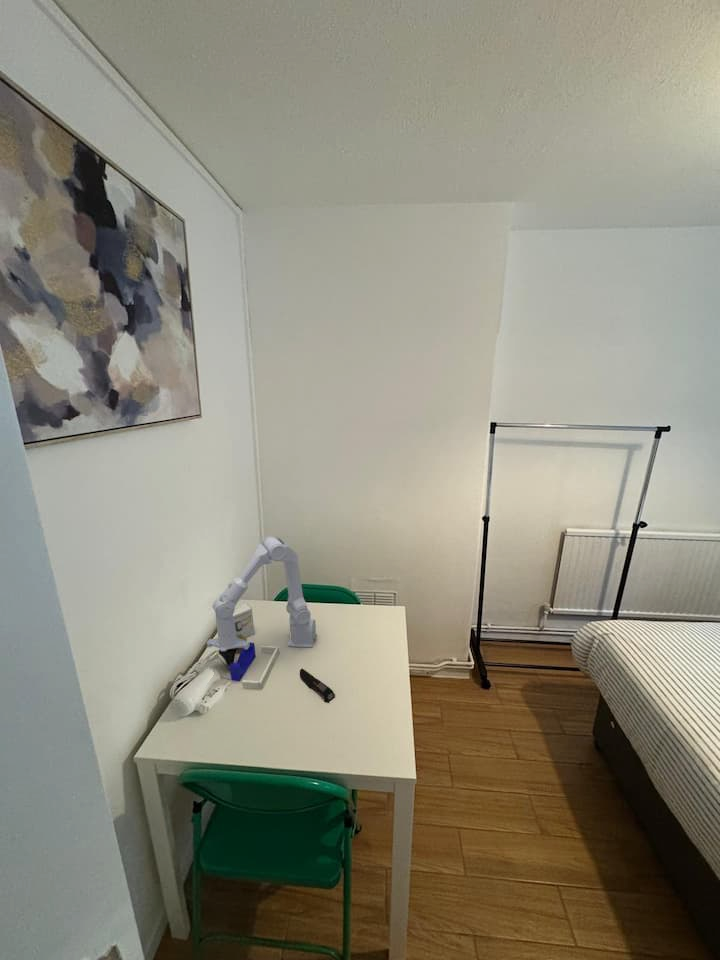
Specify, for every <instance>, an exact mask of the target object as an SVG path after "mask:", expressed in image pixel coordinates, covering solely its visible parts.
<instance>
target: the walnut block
mask: <svg viewBox="0 0 720 960" xmlns="http://www.w3.org/2000/svg"><path fill="white" fill-rule="evenodd" d="M238 638H239V639H242V640H245V641H248V639H247V637H238ZM243 649H245V648H237V650H236V653H235V655H237V654H238V655H240V653H241V652H242V650H243Z"/></svg>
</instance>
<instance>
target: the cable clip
mask: <svg viewBox="0 0 720 960" xmlns="http://www.w3.org/2000/svg"><path fill="white" fill-rule="evenodd" d="M249 644H250V646H249V648H248V650H245V649H243V650H242V652H241V653H239V655H238V658H237V659H238V660H237V661H236V662H234V663H231V664H230V667H229V671H230V672H229V673H230V678H231V681H232V682H241V680H242V679H243V678H244V675H245V674H246V673H247V671H248V669H249V668H250V666H251V665H252V663H253V661H254V660H255V659H256V656H257V655H256V648H255V647H256V645H255V642H250V641H249Z"/></svg>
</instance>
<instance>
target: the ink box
mask: <svg viewBox="0 0 720 960" xmlns="http://www.w3.org/2000/svg"><path fill="white" fill-rule="evenodd" d="M233 617H234V623H235V631H236V638H238V637H246V638H248V637H250V636H252V635H254V634H255V632H256V631H255V626H254V617H253V608H252V607H251V605H250V604H249V603H243V604H242V605H239V606H235V611H234V613H233Z"/></svg>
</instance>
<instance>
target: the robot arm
mask: <svg viewBox="0 0 720 960" xmlns="http://www.w3.org/2000/svg"><path fill="white" fill-rule="evenodd" d="M253 554H254V555H253V556H252V557H251V559H250V560H249V562H248V563H247V565H246V567H245V568H244V569H243V571H241V574H240V575H239V576H238V577H235V578H233V579H232V580H231V581H229V582H228V584H227V587H226V589H225V590H224V591H223V592H222V594H219V596H218V597H217V598H216V599H214V601H213V603H212V608H213V610H214V612H215V623H216V630H217V631H216V632H217V637H218V638H209V639H208V640H207V642H206V646H207V648H211V647H215V648H218V649H219V650H218V654H219V656H221V657H222V658H223V659H224V661H225V663H226V665H227V667H228V668H230V664H231V663H235V658H236V654H235V653H236V650H237V648H245V650H248V648H249V646H250V644H249V642H250V641H249V640H247V641H245V640H242V639H239V638H236V631H235V623H234V617H233V613H234V611H235V607H236V605H237V603H238V602H239V601H240V599H241V598H242V596H243V595H244V594H245V593H246V591H247V590H248V583H249V582H250V581H251V580H252V578H253V577H254V576H255V575H256V574H257V572H258V571H259V569H260V568H261V567H262V566H264V565H269V564H270V565H272V563H273V561H274V562H282V563H283V567H284V572H285V573H284V574H285V578H286V579H285V580H286V586H287V593H288V597H287V605H286V607H285V608H286V612H287V613H289V619H288V620H289V622H288V623H289V632H290V634H289V635H290V639H289V640H288V643H287V647H295V648H296V647H297V648H313V646H314V643H315V640H316V637H317V625H316V620H315V619H314V618H311V615H312V614H311V611H310V610H309V608H308V605H307V602H306V600H305V599H304V594H303V587H302V585H303V584H302V579H301V573H300V565H299V557H298V553H297V552H296V551H295V550H294V549H292V548H291V546H289V545H288V544H287V543H286V542H285V541H283V539H282V538H280V537H277V536H275V535H268V536H266V537H264V539H263V540H262V541H261V543H259V544H258V546H257V547H256V551H255V553H253Z"/></svg>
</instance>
